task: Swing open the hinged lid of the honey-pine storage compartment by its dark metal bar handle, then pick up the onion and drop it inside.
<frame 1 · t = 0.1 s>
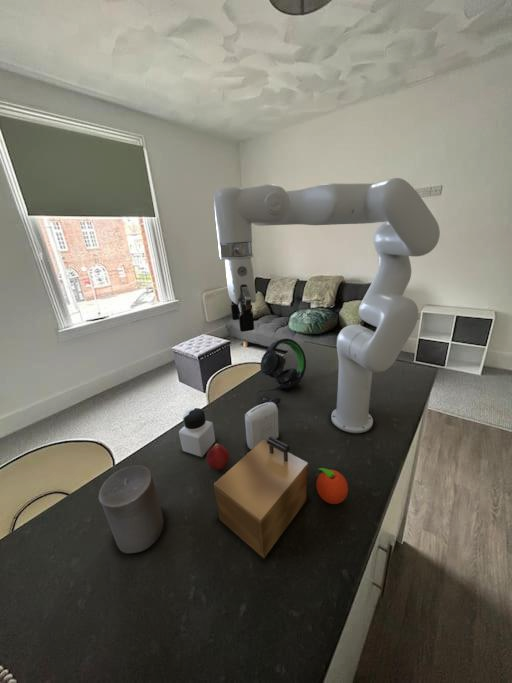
hand: (242, 324, 68), 37 cm above the kitchen island, tool pointing down, fingers open, 9 cm apart
photo printer: (263, 441, 83), on the kitchen island
onion: (219, 468, 74), on the kitchen island
clementine: (329, 496, 65), on the kitchen island
medicine bottle: (199, 446, 83), on the kitchen island
lid: (261, 466, 58), point 12 cm above the kitchen island, hinge at 0.0°
headset: (284, 390, 108), on the kitchen island
chest: (264, 509, 62), on the kitchen island
pillar candle: (140, 531, 60), on the kitchen island
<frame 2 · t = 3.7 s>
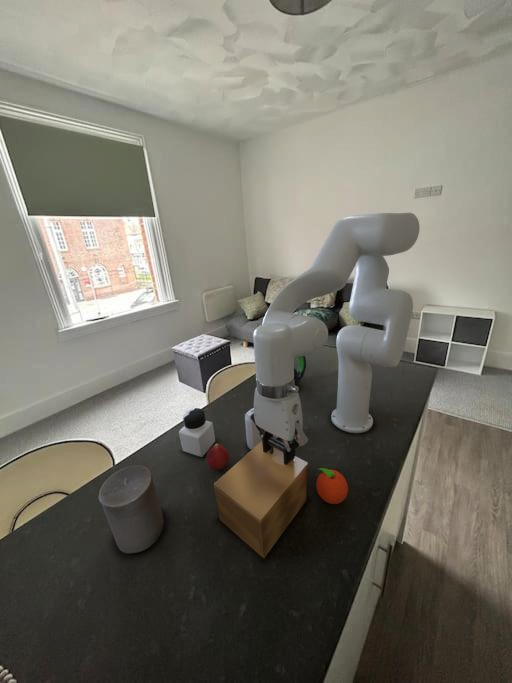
hand: (278, 454, 62), 11 cm above the kitchen island, tool pointing down, fingers closed on lid, 5 cm apart
lid: (261, 466, 58), point 12 cm above the kitchen island, hinge at 0.0°, touching gripper
everything else where it was.
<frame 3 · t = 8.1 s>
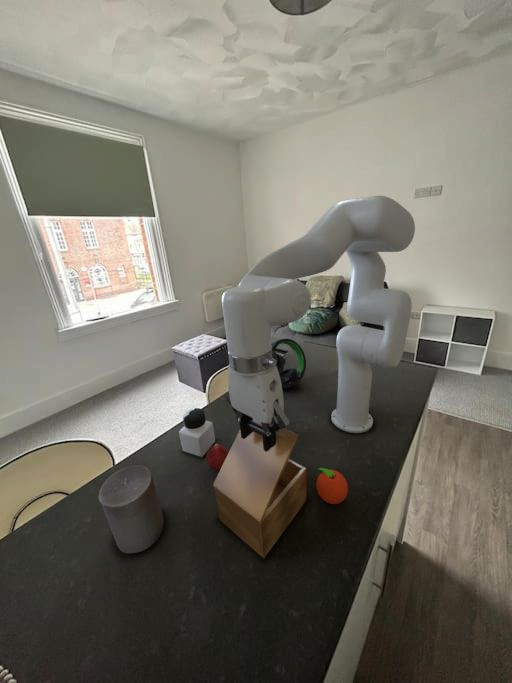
hand: (258, 439, 55), 20 cm above the kitchen island, tool pointing down, fingers closed on lid, 5 cm apart
lid: (249, 458, 54), point 17 cm above the kitchen island, hinge at 41.3°, touching gripper
everything else where it was.
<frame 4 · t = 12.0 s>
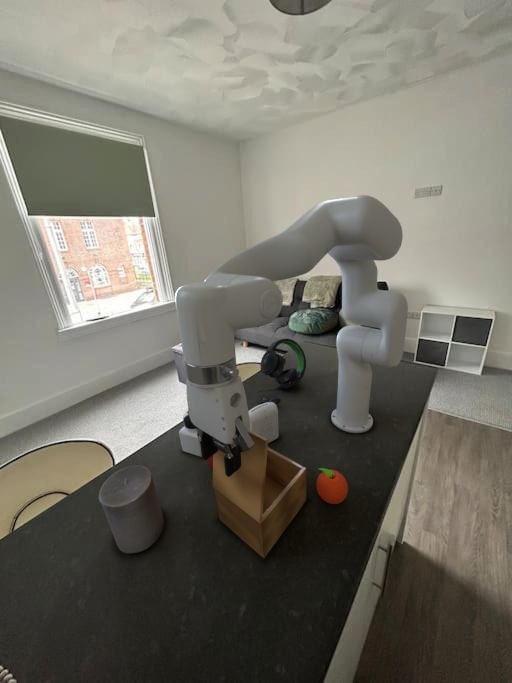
hand: (221, 461, 48), 22 cm above the kitchen island, tool pointing down, fingers open, 5 cm apart
lid: (229, 470, 50), point 19 cm above the kitchen island, hinge at 79.2°
everything else where it was.
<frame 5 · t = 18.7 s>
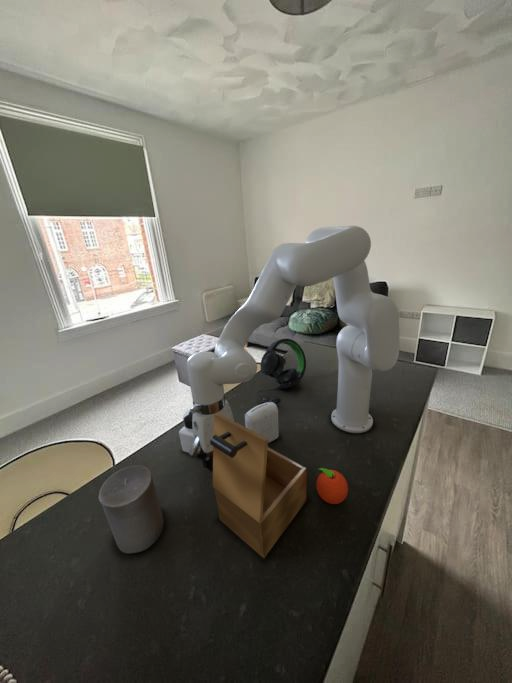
hand: (218, 459, 73), 3 cm above the kitchen island, tool pointing down, fingers closed on onion, 5 cm apart
onion: (219, 468, 74), on the kitchen island, touching gripper
everything else where it was.
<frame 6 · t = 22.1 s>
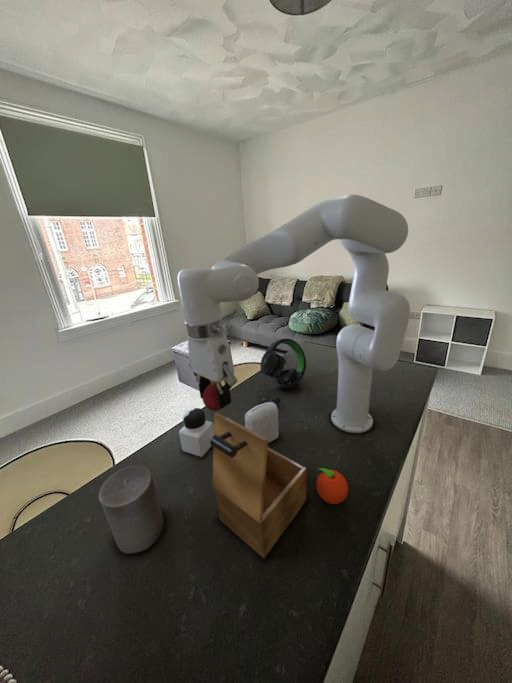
hand: (215, 399, 65), 22 cm above the kitchen island, tool pointing down, fingers closed on onion, 5 cm apart
onion: (217, 411, 66), point 19 cm above the kitchen island, touching gripper
everything else where it was.
when the fingers open (14 cm above the kitchen island, at t = 26.0 s): onion drops 10 cm, resting on chest.
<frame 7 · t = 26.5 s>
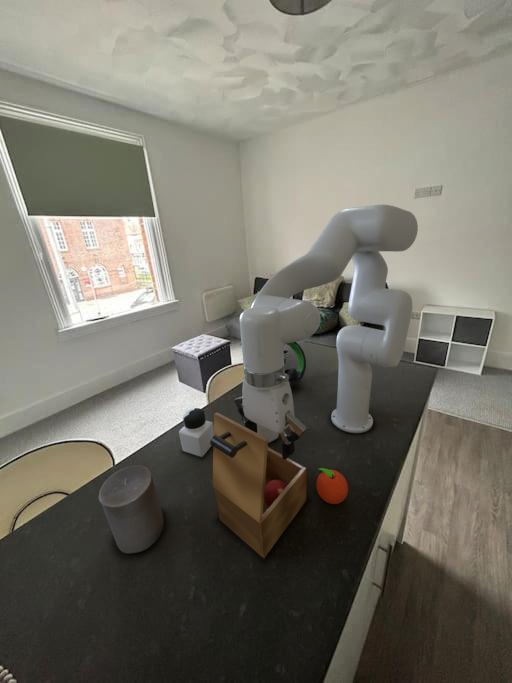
hand: (269, 444, 58), 16 cm above the kitchen island, tool pointing down, fingers open, 9 cm apart
onion: (272, 496, 64), point 1 cm above the kitchen island, touching chest
everything else where it was.
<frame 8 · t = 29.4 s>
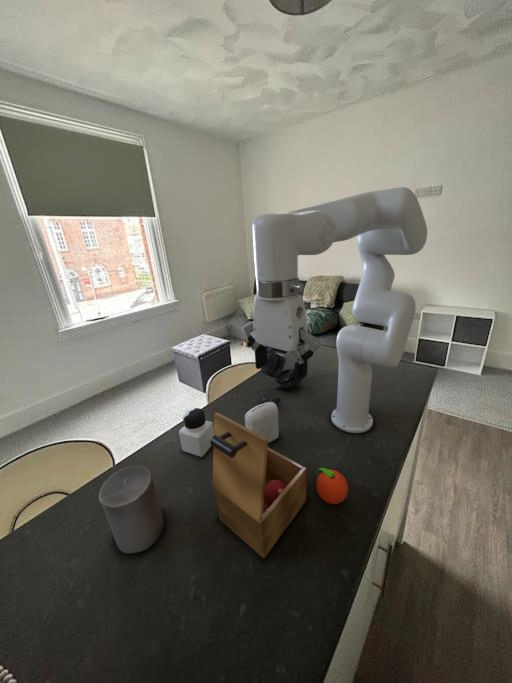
hand: (280, 372, 56), 31 cm above the kitchen island, tool pointing down, fingers open, 9 cm apart
nothing on the kitchen island moved.
at the end: lid at +79° (first picture: +0°); onion inside the target area in the chest (3.0 cm from its centre), point 1.4 cm above the chest's base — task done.
